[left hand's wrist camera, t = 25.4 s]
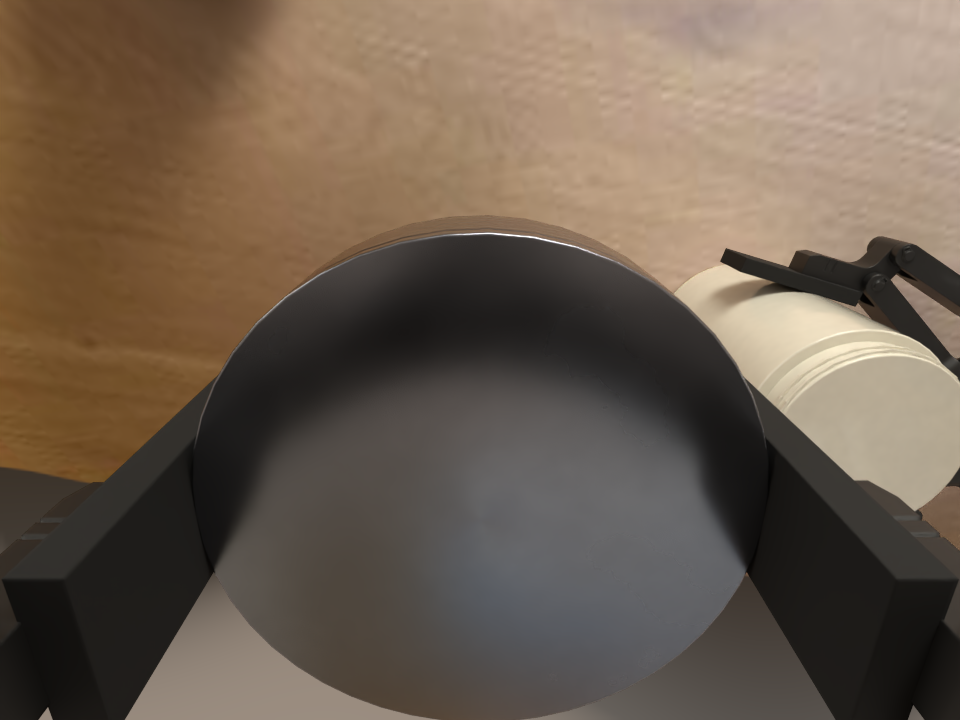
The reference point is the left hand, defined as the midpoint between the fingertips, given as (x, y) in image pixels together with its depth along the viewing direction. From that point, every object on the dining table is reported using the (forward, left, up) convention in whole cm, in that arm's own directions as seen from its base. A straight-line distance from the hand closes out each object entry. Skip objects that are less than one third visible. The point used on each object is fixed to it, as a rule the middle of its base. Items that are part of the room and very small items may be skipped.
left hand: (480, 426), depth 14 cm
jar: (+17, 0, -25) cm, 30 cm away
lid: (0, 0, +3) cm, 3 cm away
